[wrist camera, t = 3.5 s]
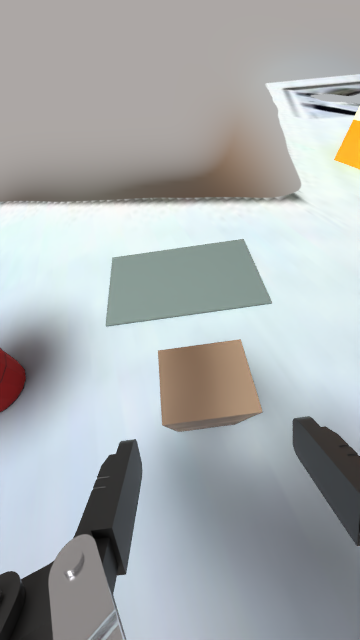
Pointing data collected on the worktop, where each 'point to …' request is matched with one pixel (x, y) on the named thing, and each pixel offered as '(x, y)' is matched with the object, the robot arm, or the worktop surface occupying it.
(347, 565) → the worktop surface
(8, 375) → the plastic cup
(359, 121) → the orange juice
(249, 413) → the walnut block
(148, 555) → the worktop surface
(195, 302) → the mat
